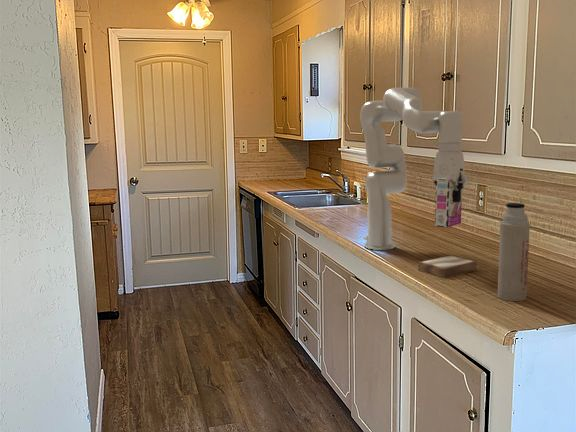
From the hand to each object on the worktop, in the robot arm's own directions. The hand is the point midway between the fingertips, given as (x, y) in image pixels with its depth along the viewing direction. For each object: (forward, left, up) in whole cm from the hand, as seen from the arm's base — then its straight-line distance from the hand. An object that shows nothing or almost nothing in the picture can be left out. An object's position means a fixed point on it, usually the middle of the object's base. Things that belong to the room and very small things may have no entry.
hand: (448, 200), depth 196 cm
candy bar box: (0, 0, -9) cm, 9 cm away
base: (0, 0, -25) cm, 25 cm away
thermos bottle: (+32, -8, -25) cm, 41 cm away
